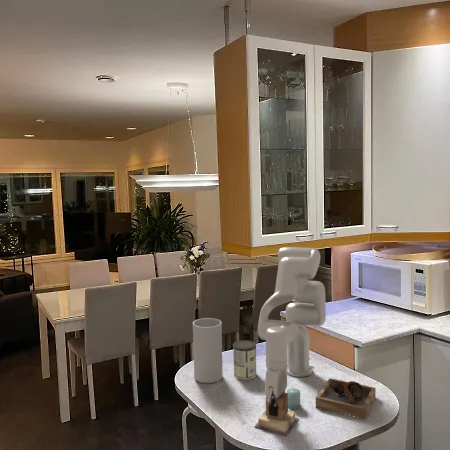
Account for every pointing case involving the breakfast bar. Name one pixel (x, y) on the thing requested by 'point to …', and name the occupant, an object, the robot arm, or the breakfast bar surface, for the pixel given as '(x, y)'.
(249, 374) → the coffee can
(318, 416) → the breakfast bar surface
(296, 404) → the teal capsule
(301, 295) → the robot arm
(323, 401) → the mug tray
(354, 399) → the pottery mug
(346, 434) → the breakfast bar surface
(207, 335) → the cylinder vase
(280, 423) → the plinth
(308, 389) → the breakfast bar surface
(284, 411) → the walnut block
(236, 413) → the butter knife
